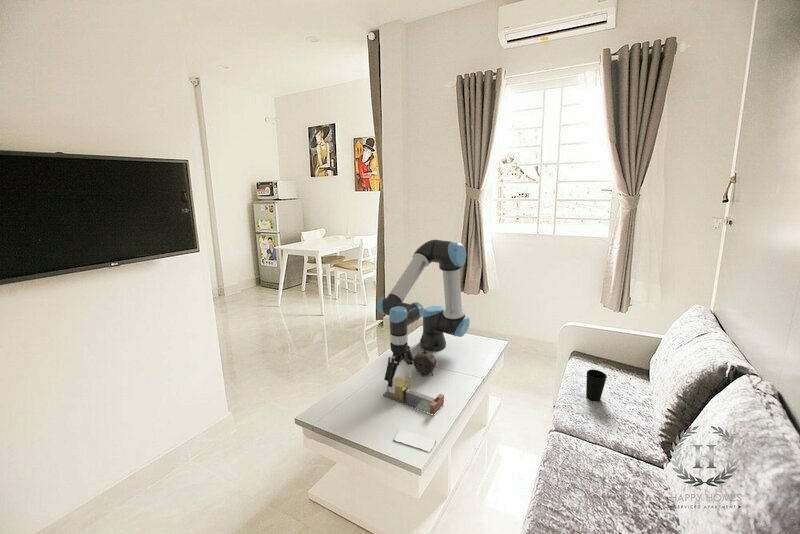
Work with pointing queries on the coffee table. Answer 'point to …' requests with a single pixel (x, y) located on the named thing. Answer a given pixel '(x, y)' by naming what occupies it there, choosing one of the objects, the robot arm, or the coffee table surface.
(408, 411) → the coffee table surface
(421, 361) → the alarm clock
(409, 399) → the rail
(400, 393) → the clip
